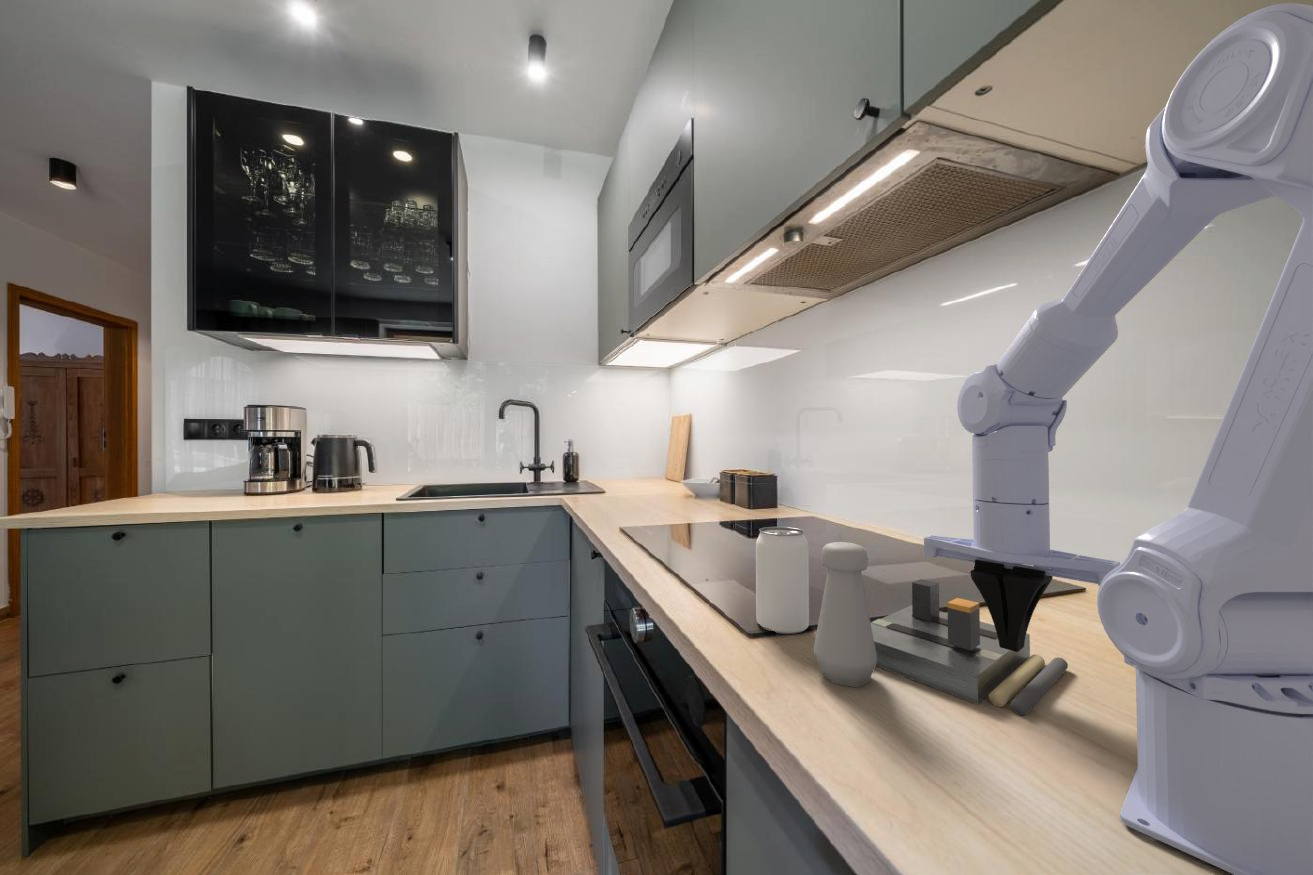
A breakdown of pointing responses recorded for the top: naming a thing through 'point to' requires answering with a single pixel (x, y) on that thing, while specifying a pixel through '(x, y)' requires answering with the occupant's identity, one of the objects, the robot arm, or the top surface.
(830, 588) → the salt shaker
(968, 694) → the dual slot slider
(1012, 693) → the pair of rollers
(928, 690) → the top surface
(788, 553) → the can
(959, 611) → the toggle
